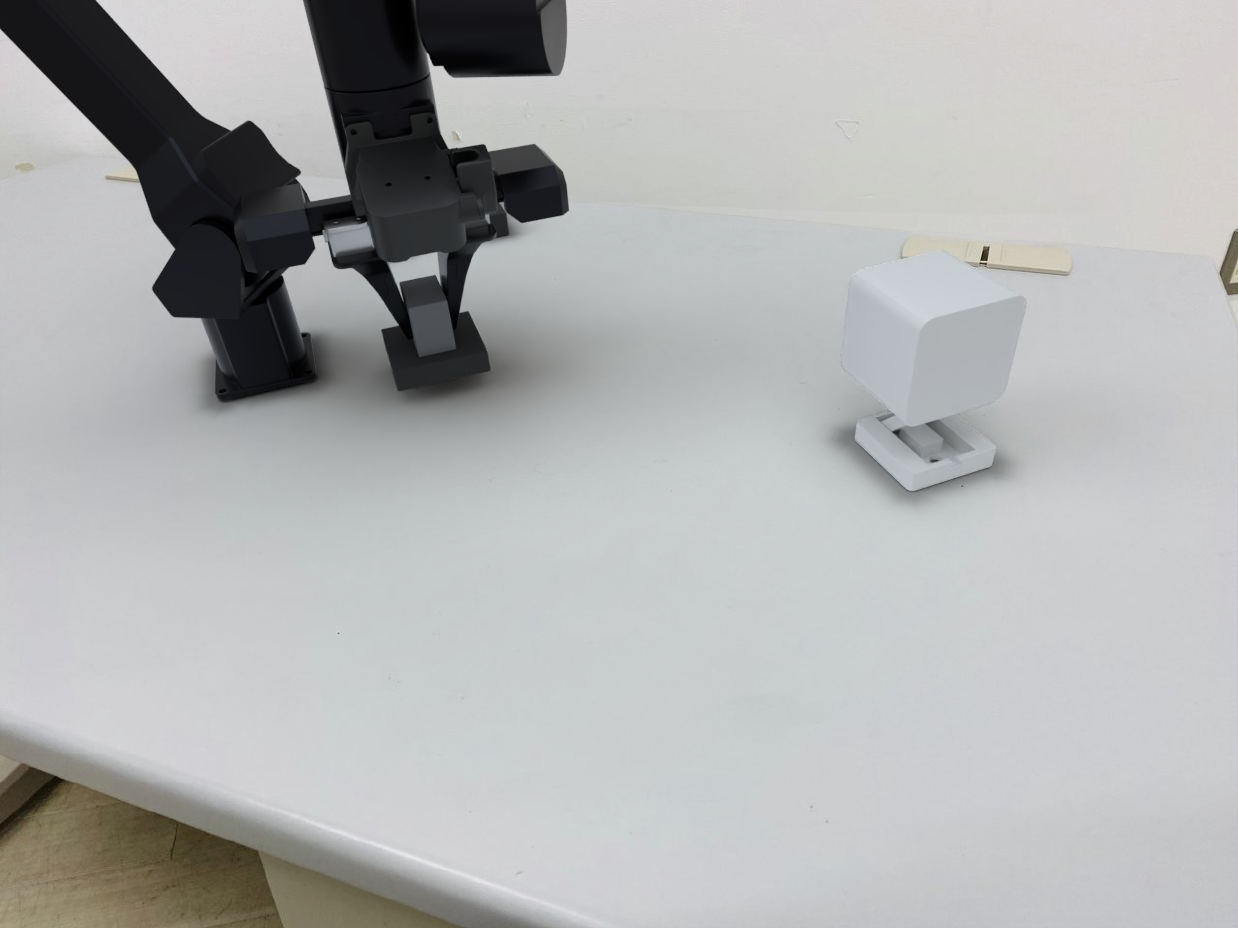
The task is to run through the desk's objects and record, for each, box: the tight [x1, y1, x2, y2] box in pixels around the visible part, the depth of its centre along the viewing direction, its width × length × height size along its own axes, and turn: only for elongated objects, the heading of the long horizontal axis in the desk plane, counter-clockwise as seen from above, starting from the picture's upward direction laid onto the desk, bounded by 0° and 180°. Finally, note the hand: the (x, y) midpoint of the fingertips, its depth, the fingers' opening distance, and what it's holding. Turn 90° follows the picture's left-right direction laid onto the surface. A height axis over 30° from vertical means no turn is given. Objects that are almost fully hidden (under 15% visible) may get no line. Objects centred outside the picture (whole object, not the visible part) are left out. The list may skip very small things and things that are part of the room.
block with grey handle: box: [380, 274, 492, 392], centre depth 57 cm, size 6×6×5 cm
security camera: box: [839, 249, 1028, 492], centre depth 48 cm, size 6×7×10 cm
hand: (430, 332), depth 58 cm, fingers closed on block with grey handle, 2 cm apart
